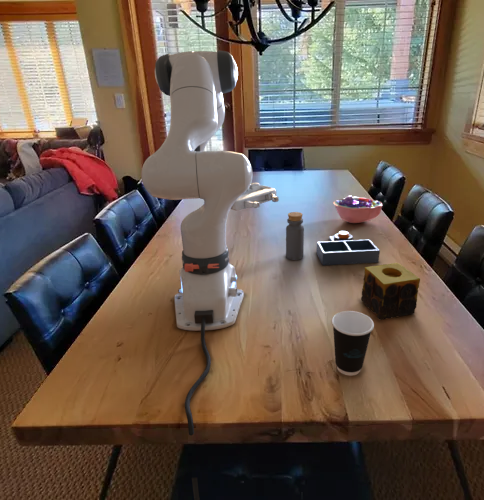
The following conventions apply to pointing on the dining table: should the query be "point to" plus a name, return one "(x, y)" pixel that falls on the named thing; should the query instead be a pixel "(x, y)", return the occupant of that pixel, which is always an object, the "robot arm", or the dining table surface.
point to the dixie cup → (351, 340)
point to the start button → (343, 234)
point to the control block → (336, 238)
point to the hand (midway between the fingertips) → (267, 202)
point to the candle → (390, 290)
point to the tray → (347, 252)
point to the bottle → (294, 236)
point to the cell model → (357, 209)
